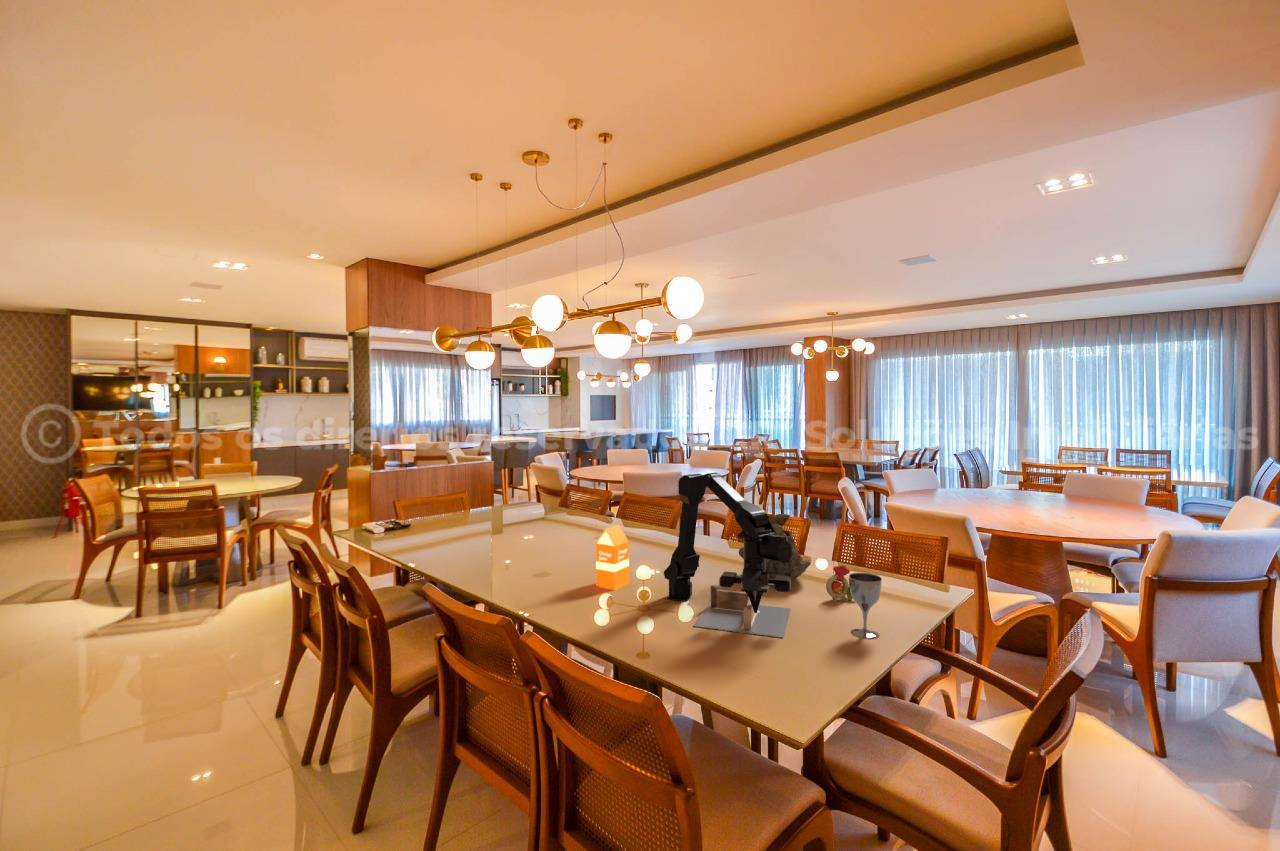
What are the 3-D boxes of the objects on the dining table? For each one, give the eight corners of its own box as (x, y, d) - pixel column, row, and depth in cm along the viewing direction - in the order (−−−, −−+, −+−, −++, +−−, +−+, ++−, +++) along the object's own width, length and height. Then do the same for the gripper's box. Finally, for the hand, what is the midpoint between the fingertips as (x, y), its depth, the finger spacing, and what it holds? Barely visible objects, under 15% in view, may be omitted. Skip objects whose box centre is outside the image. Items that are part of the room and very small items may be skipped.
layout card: (692, 626, 153) (692, 625, 153) (710, 600, 173) (710, 599, 173) (783, 638, 144) (783, 636, 144) (790, 609, 165) (790, 608, 165)
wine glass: (880, 629, 149) (880, 574, 149) (882, 641, 142) (882, 582, 141) (848, 626, 152) (848, 571, 152) (849, 637, 145) (849, 580, 144)
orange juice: (629, 583, 191) (629, 525, 191) (614, 590, 184) (614, 529, 183) (610, 579, 196) (610, 522, 195) (595, 586, 188) (595, 527, 188)
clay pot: (738, 568, 208) (737, 510, 207) (803, 570, 205) (803, 512, 204) (740, 589, 183) (740, 524, 183) (815, 592, 180) (815, 526, 179)
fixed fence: (710, 608, 166) (710, 587, 166) (711, 606, 168) (711, 585, 168) (756, 614, 162) (756, 591, 161) (757, 611, 163) (757, 589, 163)
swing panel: (749, 611, 162) (749, 593, 161) (756, 612, 161) (756, 594, 161) (743, 628, 149) (743, 609, 149) (750, 629, 148) (750, 609, 148)
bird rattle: (841, 610, 170) (864, 595, 172) (828, 578, 168) (851, 564, 171) (828, 603, 176) (851, 589, 178) (816, 572, 174) (838, 559, 177)
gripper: (714, 561, 148) (716, 619, 148) (787, 566, 142) (788, 627, 142) (722, 551, 158) (724, 605, 159) (790, 555, 152) (791, 612, 152)
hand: (755, 612), depth 153 cm, fingers closed
